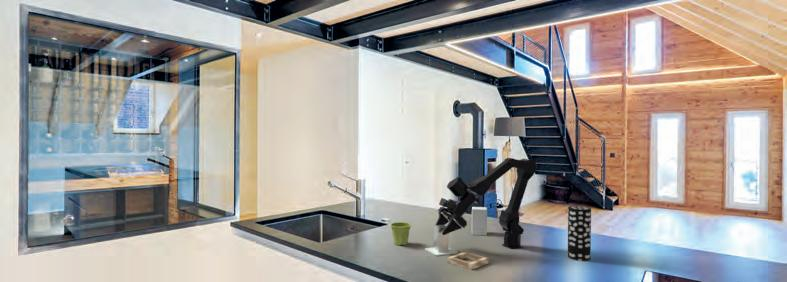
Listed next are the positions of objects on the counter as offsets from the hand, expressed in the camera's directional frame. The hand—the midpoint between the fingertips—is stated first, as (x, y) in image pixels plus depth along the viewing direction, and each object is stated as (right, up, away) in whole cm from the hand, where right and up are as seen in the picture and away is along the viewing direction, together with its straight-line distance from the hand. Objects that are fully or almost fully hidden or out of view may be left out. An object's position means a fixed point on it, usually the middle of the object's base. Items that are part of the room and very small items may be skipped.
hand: (438, 231), depth 166 cm
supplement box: (+24, -8, +32) cm, 40 cm away
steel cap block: (+1, -8, 0) cm, 8 cm away
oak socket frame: (+10, -9, -14) cm, 19 cm away
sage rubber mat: (+1, -8, 0) cm, 8 cm away
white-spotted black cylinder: (+55, -9, -7) cm, 56 cm away
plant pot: (-16, -8, +12) cm, 21 cm away
